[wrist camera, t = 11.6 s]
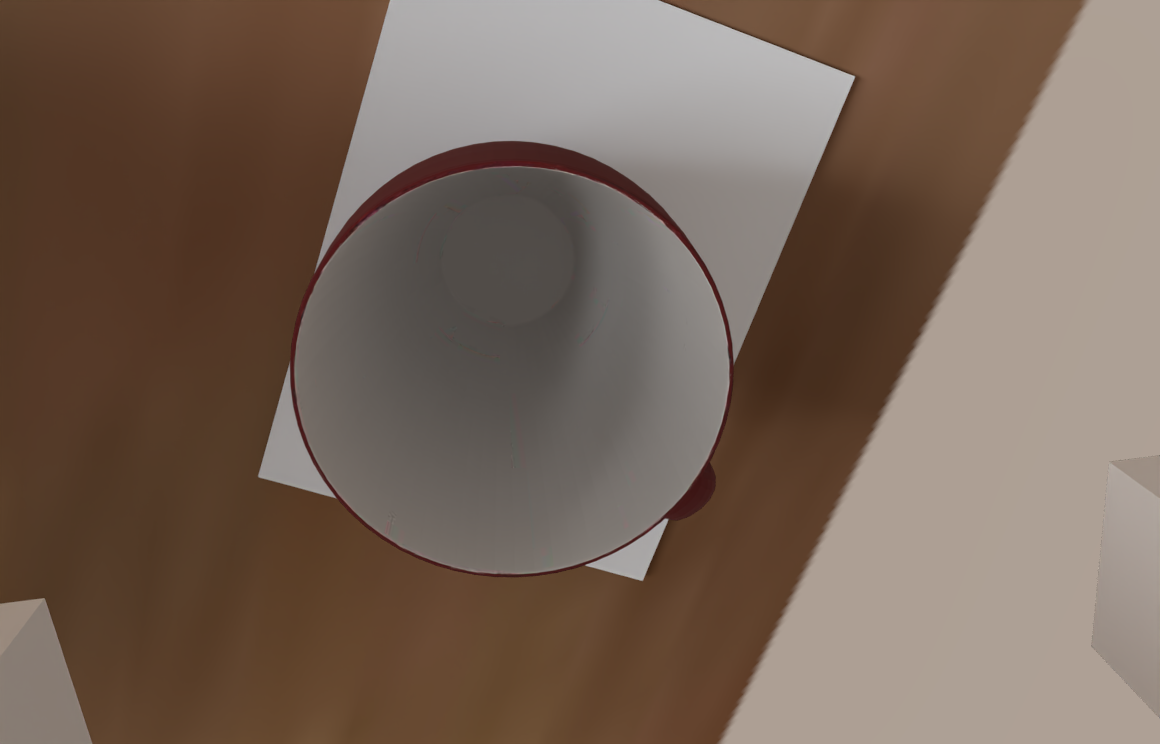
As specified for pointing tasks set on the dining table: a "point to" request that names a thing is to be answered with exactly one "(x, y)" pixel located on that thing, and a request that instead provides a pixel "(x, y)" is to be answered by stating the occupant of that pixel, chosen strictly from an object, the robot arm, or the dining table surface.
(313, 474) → the paper
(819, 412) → the dining table surface
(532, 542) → the mug
